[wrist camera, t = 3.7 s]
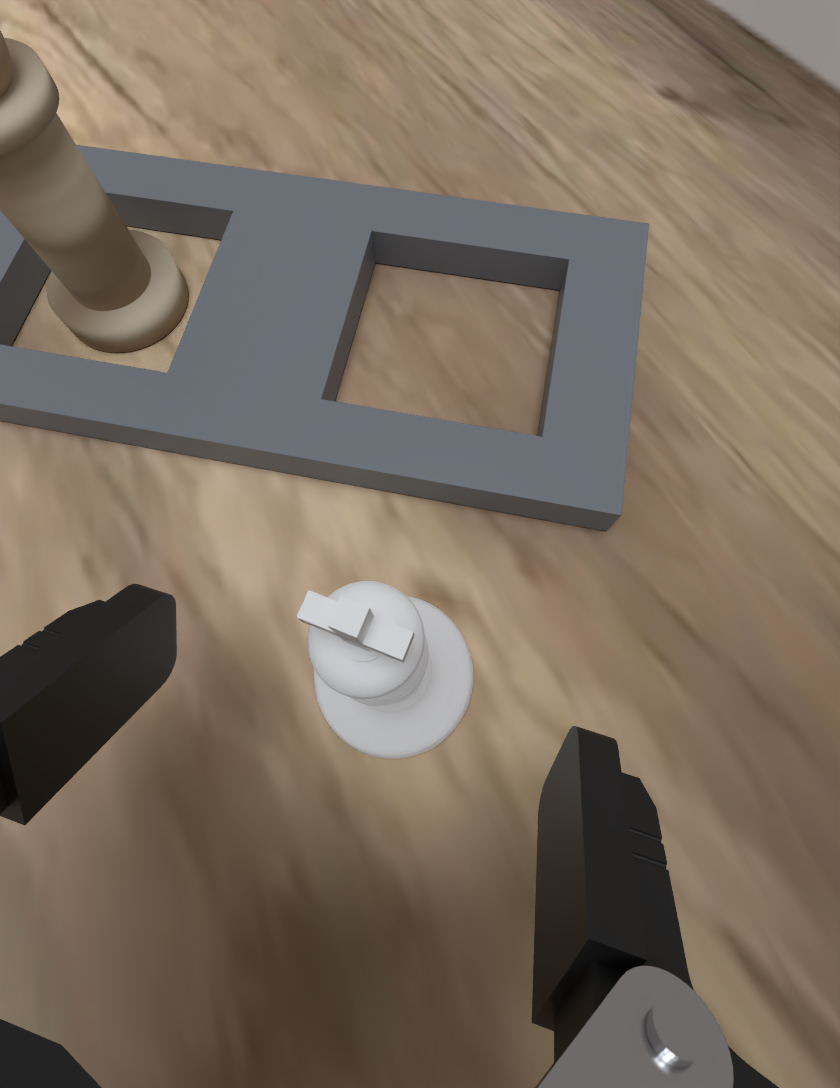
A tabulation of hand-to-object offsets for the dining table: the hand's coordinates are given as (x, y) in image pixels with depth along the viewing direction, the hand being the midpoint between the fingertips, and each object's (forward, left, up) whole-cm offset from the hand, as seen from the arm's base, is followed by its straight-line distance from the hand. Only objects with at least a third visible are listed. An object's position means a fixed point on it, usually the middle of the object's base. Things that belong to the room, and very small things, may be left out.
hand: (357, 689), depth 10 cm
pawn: (+13, -13, -6) cm, 20 cm away
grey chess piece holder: (+7, -13, -6) cm, 16 cm away
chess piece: (0, -1, -7) cm, 7 cm away
